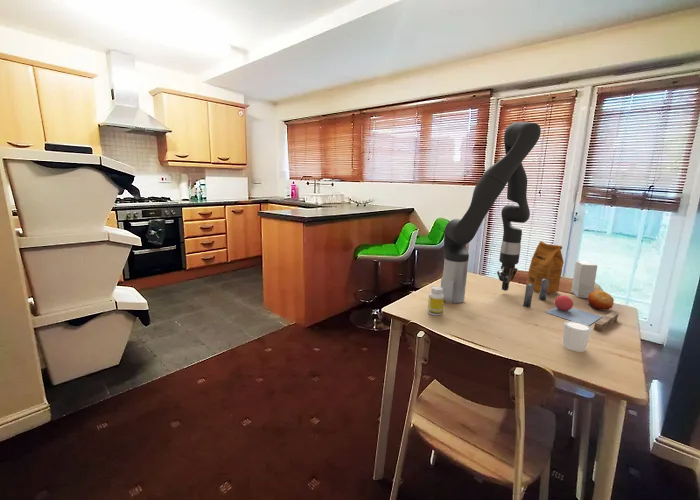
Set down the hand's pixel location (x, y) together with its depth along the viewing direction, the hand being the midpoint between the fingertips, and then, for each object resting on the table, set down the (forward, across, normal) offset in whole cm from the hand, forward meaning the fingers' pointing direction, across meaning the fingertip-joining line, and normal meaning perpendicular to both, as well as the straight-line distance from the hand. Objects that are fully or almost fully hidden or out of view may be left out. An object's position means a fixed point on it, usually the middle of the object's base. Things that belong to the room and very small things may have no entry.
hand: (504, 289), depth 142 cm
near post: (+2, -6, -13) cm, 15 cm away
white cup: (+2, -27, -37) cm, 46 cm away
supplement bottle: (+2, -43, +3) cm, 43 cm away
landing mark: (+2, 0, -27) cm, 27 cm away
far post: (+2, +7, -13) cm, 15 cm away
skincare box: (+2, +27, -20) cm, 34 cm away
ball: (-2, +1, -23) cm, 23 cm away
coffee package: (+2, +19, -7) cm, 20 cm away
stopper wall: (+2, 0, -37) cm, 37 cm away
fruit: (+2, +16, -30) cm, 34 cm away
